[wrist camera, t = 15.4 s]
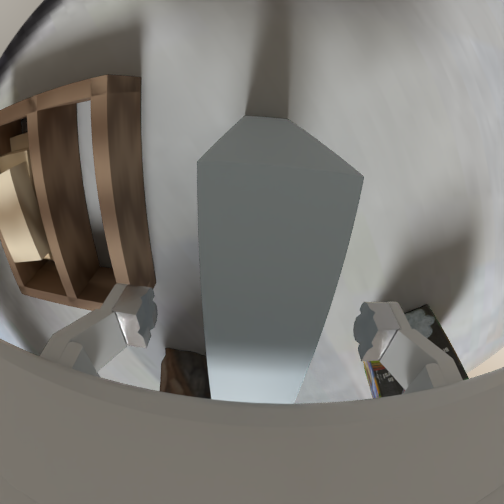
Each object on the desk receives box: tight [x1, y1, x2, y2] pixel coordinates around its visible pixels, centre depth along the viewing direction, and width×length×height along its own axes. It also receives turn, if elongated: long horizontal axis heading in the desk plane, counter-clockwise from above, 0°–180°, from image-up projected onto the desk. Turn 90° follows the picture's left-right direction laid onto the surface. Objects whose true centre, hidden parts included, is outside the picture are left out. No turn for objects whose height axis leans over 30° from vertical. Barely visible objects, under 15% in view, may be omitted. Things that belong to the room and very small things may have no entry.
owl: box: [160, 348, 211, 399], centre depth 26 cm, size 13×13×20 cm
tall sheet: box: [197, 116, 364, 404], centre depth 14 cm, size 12×3×15 cm, turn 176°
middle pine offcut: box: [0, 147, 53, 259], centre depth 18 cm, size 10×5×2 cm, turn 176°
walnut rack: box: [0, 75, 156, 311], centre depth 18 cm, size 18×15×5 cm
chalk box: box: [364, 305, 469, 398], centre depth 23 cm, size 9×9×15 cm
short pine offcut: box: [0, 161, 51, 262], centre depth 16 cm, size 8×5×2 cm, turn 6°
